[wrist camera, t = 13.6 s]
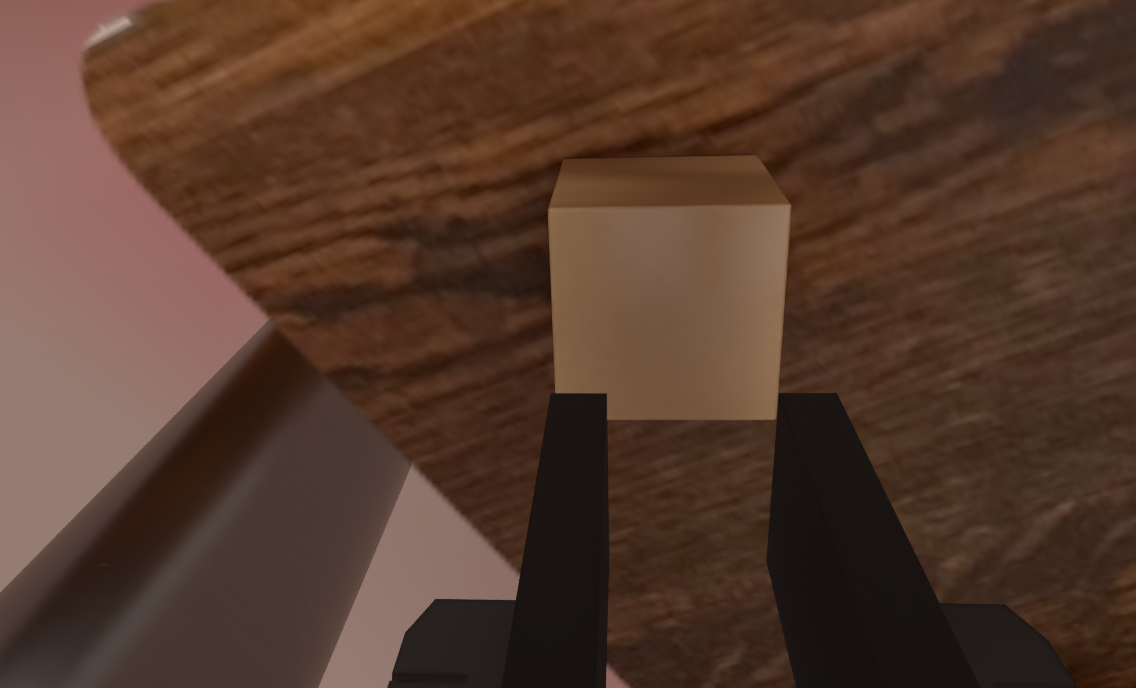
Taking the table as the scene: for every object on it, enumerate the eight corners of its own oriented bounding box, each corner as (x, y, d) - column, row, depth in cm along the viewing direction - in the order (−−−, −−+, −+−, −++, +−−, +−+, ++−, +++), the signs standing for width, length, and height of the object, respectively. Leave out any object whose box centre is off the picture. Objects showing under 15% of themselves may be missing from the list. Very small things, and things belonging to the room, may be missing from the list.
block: (568, 335, 23) (556, 421, 19) (562, 158, 21) (547, 208, 17) (748, 334, 23) (776, 421, 18) (758, 154, 21) (792, 204, 17)
